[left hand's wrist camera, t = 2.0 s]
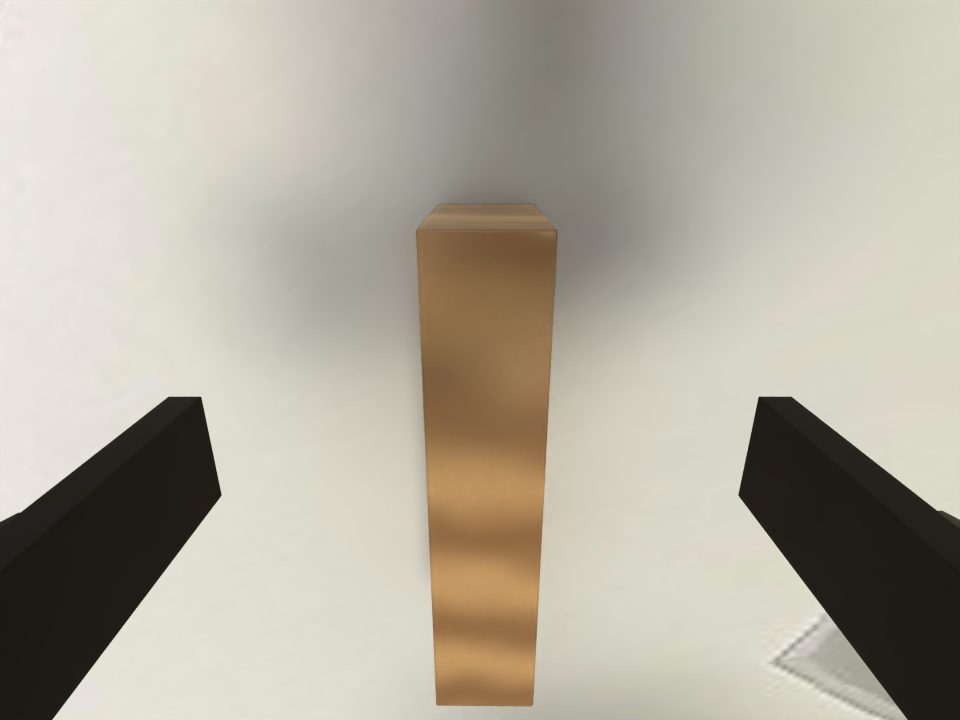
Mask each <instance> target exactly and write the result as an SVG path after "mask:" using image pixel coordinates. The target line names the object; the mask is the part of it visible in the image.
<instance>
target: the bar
mask: <svg viewBox="0 0 960 720" xmlns="http://www.w3.org/2000/svg"><path fill="white" fill-rule="evenodd" d="M557 235H558V231H557V229H556V228H555V227H554V226H553V225H552V224H551V223H550V222H549V220H548V219H547V218H546V217H545V216H544V215H543V214H542V213H541V211H540V210H539V209H538V208H537V207H536V206H535V205H534V204H438V205H437V206H436V208H435V209H434V210H433V211H432V212H431V214H430V215H429V216H428V217H427V218H426V219H425V221H424V222H423V223H422V224H421V225H420V226H419V228H418V229H417V230H416V243H417V267H418V290H419V313H420V336H421V360H422V383H423V406H424V429H425V452H426V476H427V499H428V522H429V545H430V569H431V592H432V615H433V638H434V661H435V685H436V704H437V705H443V706H533V694H534V675H535V656H536V637H537V618H538V599H539V579H540V560H541V541H542V522H543V503H544V484H545V465H546V445H547V426H548V407H549V388H550V369H551V350H552V331H553V311H554V292H555V273H556V254H557Z"/></svg>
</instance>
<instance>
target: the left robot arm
mask: <svg viewBox="0 0 960 720" xmlns="http://www.w3.org/2000/svg"><path fill="white" fill-rule="evenodd" d="M220 497H221V490H220V485H219V481H218V476H217V471H216V466H215V461H214V456H213V452H212V447H211V442H210V437H209V432H208V427H207V423H206V418H205V413H204V408H203V403H202V398H201V397H168V398H166V399H165V400H164V401H163V402H161V403H160V404H159V405H158V406H156V407H155V408H154V409H152V410H151V411H150V412H149V413H147V414H146V415H145V416H143V417H142V418H141V419H140V420H138V421H137V422H136V423H135V424H133V425H132V426H131V427H129V428H128V429H127V430H126V431H124V432H123V433H122V434H121V435H119V436H118V437H117V438H115V439H114V440H113V441H112V442H110V443H109V444H108V445H106V446H105V447H104V448H103V449H101V450H100V451H99V452H98V453H96V454H95V455H94V456H92V457H91V458H90V459H89V460H87V461H86V462H85V463H83V464H82V465H81V466H80V467H78V468H77V469H76V470H75V471H73V472H72V473H71V474H69V475H68V476H67V477H66V478H64V479H63V480H62V481H60V482H59V483H58V484H57V485H55V486H54V487H53V488H52V489H50V490H49V491H48V492H46V493H45V494H44V495H43V496H41V497H40V498H39V499H37V500H36V501H35V502H34V503H32V504H31V505H30V506H29V507H27V508H26V509H25V510H23V511H22V512H21V513H17V514H15V515H13V516H11V517H9V518H7V519H5V520H3V521H1V522H0V720H52V719H53V718H54V717H55V715H56V714H57V713H58V711H59V710H60V709H61V707H62V706H63V705H64V703H65V702H66V701H67V699H68V698H69V697H70V696H71V694H72V693H73V692H74V690H75V689H76V688H77V686H78V685H79V684H80V682H81V681H82V680H83V678H84V677H85V676H86V674H87V673H88V672H89V670H90V669H91V668H92V666H93V665H94V664H95V662H96V661H97V660H98V658H99V657H100V656H101V654H102V653H103V652H104V650H105V649H106V648H107V646H108V645H109V644H110V643H111V641H112V640H113V639H114V637H115V636H116V635H117V633H118V632H119V631H120V629H121V628H122V627H123V625H124V624H125V623H126V621H127V620H128V619H129V617H130V616H131V615H132V613H133V612H134V611H135V609H136V608H137V607H138V605H139V604H140V603H141V601H142V600H143V599H144V597H145V596H146V595H147V594H148V592H149V591H150V590H151V588H152V587H153V586H154V584H155V583H156V582H157V580H158V579H159V578H160V576H161V575H162V574H163V572H164V571H165V570H166V568H167V567H168V566H169V564H170V563H171V562H172V560H173V559H174V558H175V556H176V555H177V554H178V552H179V551H180V550H181V548H182V547H183V546H184V545H185V543H186V542H187V541H188V539H189V538H190V537H191V535H192V534H193V533H194V531H195V530H196V529H197V527H198V526H199V525H200V523H201V522H202V521H203V519H204V518H205V517H206V515H207V514H208V513H209V511H210V510H211V509H212V507H213V506H214V505H215V503H216V502H217V501H218V499H219V498H220ZM739 497H740V498H741V499H742V501H743V502H744V503H745V505H746V506H747V507H748V509H749V510H750V511H751V513H752V514H753V515H754V517H755V518H756V519H757V521H758V522H759V523H760V525H761V526H762V527H763V529H764V530H765V531H766V533H767V534H768V535H769V537H770V538H771V539H772V541H773V542H774V543H775V545H776V546H777V547H778V548H779V550H780V551H781V552H782V554H783V555H784V556H785V558H786V559H787V560H788V562H789V563H790V564H791V566H792V567H793V568H794V570H795V571H796V572H797V574H798V575H799V576H800V578H801V579H802V580H803V582H804V583H805V584H806V586H807V587H808V588H809V590H810V591H811V592H812V594H813V595H814V596H815V597H816V599H817V600H818V601H819V603H820V604H821V605H822V607H823V608H824V609H825V611H826V612H827V613H828V615H829V616H830V617H831V619H832V620H833V621H834V623H835V624H836V625H837V627H838V628H839V629H840V631H841V632H842V633H843V635H844V636H845V637H846V639H847V640H848V641H849V643H850V644H851V645H852V647H853V648H854V649H855V650H856V652H857V653H858V654H859V656H860V657H861V658H862V660H863V661H864V662H865V664H866V665H867V666H868V668H869V669H870V670H871V672H872V673H873V674H874V676H875V677H876V678H877V680H878V681H879V682H880V684H881V685H882V686H883V688H884V689H885V690H886V692H887V693H888V694H889V696H890V697H891V698H892V699H893V701H894V702H895V703H896V705H897V706H898V707H899V709H900V710H901V711H902V713H903V714H904V715H905V717H906V718H907V719H908V720H960V520H959V519H957V518H955V517H953V516H951V515H949V514H948V513H946V512H944V511H937V510H935V509H934V508H933V507H931V506H930V505H929V504H928V503H926V502H925V501H924V500H923V499H921V498H920V497H919V496H917V495H916V494H915V493H914V492H912V491H911V490H910V489H908V488H907V487H906V486H905V485H903V484H902V483H901V482H900V481H898V480H897V479H896V478H894V477H893V476H892V475H891V474H889V473H888V472H887V471H885V470H884V469H883V468H882V467H880V466H879V465H878V464H877V463H875V462H874V461H873V460H871V459H870V458H869V457H868V456H866V455H865V454H864V453H862V452H861V451H860V450H859V449H857V448H856V447H855V446H854V445H852V444H851V443H850V442H848V441H847V440H846V439H845V438H843V437H842V436H841V435H839V434H838V433H837V432H836V431H834V430H833V429H832V428H831V427H829V426H828V425H827V424H825V423H824V422H823V421H822V420H820V419H819V418H818V417H817V416H815V415H814V414H813V413H811V412H810V411H809V410H808V409H806V408H805V407H804V406H802V405H801V404H800V403H799V402H797V401H796V400H795V399H794V398H792V397H759V398H758V403H757V408H756V413H755V418H754V423H753V427H752V432H751V437H750V442H749V447H748V452H747V456H746V461H745V466H744V471H743V476H742V481H741V485H740V490H739Z"/></svg>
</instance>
